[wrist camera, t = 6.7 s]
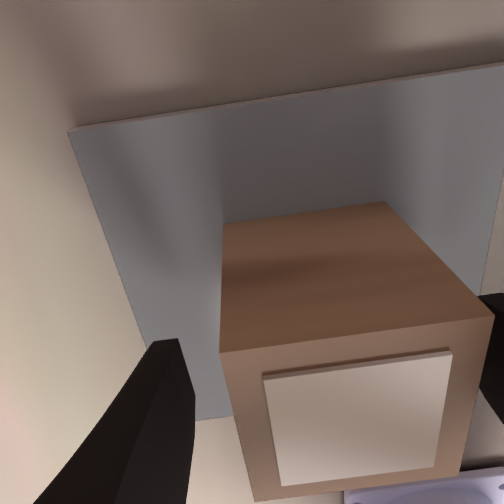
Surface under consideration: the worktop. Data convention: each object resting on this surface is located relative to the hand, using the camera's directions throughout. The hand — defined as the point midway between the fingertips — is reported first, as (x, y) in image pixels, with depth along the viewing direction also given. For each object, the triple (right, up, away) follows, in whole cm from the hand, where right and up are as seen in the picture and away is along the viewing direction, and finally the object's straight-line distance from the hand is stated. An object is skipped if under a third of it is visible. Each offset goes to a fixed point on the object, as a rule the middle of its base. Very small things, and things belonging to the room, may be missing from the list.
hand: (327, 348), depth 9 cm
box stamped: (0, +2, +2) cm, 3 cm away
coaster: (0, +2, +3) cm, 3 cm away
